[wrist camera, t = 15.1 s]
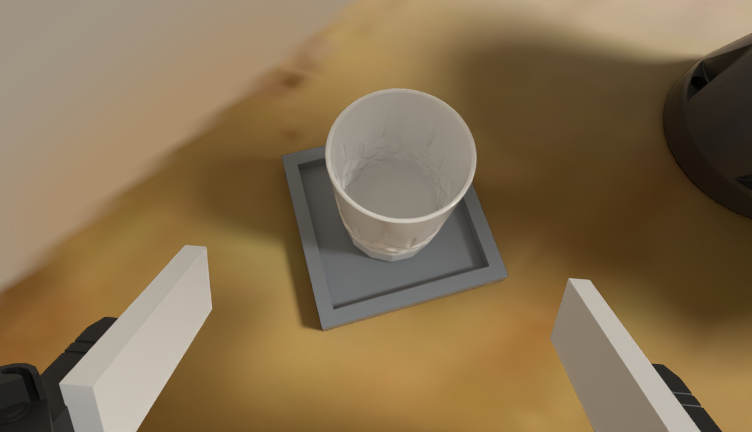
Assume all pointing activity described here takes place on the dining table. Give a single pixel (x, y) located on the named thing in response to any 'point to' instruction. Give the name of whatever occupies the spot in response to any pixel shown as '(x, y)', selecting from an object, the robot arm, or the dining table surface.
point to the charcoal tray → (379, 277)
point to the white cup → (398, 169)
